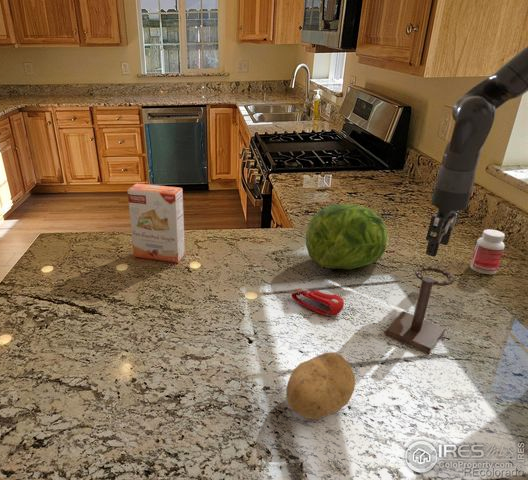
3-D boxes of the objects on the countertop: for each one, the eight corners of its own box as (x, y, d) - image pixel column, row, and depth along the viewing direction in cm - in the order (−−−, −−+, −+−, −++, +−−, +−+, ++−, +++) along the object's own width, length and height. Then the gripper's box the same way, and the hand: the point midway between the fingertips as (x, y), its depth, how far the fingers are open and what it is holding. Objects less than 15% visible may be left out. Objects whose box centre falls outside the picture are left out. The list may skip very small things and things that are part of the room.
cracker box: (132, 258, 122) (125, 189, 113) (141, 248, 128) (135, 182, 118) (178, 264, 119) (174, 193, 110) (185, 254, 124) (183, 186, 115)
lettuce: (420, 243, 110) (384, 188, 119) (358, 250, 98) (323, 187, 107) (372, 277, 124) (343, 225, 132) (313, 286, 112) (285, 228, 120)
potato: (267, 409, 72) (270, 373, 69) (317, 370, 81) (321, 336, 77) (315, 446, 66) (320, 409, 62) (364, 400, 74) (371, 364, 70)
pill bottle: (500, 276, 111) (513, 238, 106) (475, 275, 111) (487, 237, 107) (488, 265, 116) (500, 228, 112) (465, 264, 117) (475, 227, 112)
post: (444, 333, 90) (459, 279, 84) (429, 354, 84) (444, 297, 78) (401, 316, 96) (413, 264, 90) (384, 334, 90) (396, 280, 84)
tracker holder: (332, 287, 105) (355, 300, 95) (328, 304, 106) (351, 319, 96) (287, 283, 102) (307, 296, 92) (284, 300, 102) (303, 315, 93)
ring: (457, 277, 111) (459, 273, 110) (446, 290, 105) (447, 286, 104) (422, 266, 116) (423, 262, 116) (410, 278, 111) (411, 274, 110)
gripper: (462, 198, 90) (443, 265, 97) (480, 182, 99) (462, 244, 106) (425, 190, 95) (410, 254, 102) (446, 176, 104) (431, 236, 111)
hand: (436, 249), depth 104 cm, fingers open, 8 cm apart
